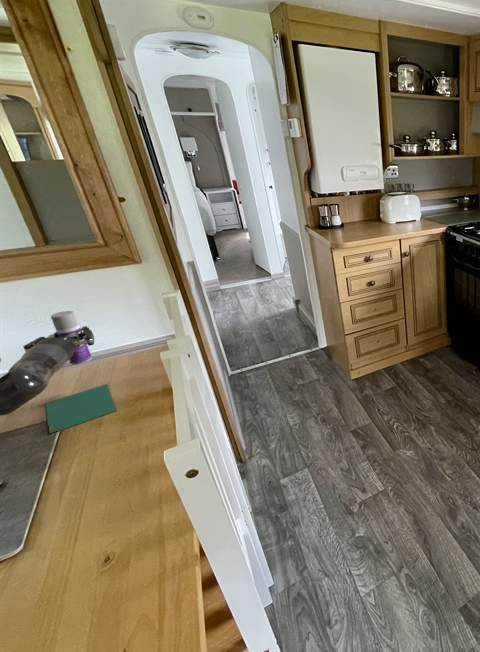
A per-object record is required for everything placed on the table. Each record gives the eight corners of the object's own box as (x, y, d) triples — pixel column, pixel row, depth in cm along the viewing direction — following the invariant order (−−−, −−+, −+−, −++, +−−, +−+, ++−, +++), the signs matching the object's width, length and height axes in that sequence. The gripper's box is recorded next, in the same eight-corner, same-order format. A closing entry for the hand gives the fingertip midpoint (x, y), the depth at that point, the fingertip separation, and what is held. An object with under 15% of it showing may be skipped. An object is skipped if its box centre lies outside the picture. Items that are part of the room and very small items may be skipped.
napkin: (116, 410, 104) (116, 410, 104) (49, 434, 95) (48, 433, 95) (107, 384, 115) (106, 383, 115) (45, 403, 106) (45, 403, 106)
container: (84, 364, 109) (64, 316, 103) (65, 365, 108) (44, 317, 102) (96, 356, 113) (78, 310, 107) (78, 357, 112) (59, 311, 107)
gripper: (78, 339, 97) (102, 315, 111) (0, 350, 91) (35, 323, 105) (89, 364, 100) (110, 337, 114) (13, 376, 94) (45, 347, 108)
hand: (74, 331), depth 109 cm, fingers closed on container, 4 cm apart
